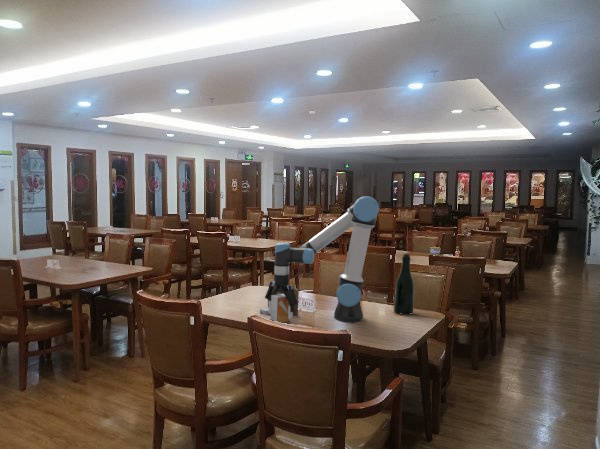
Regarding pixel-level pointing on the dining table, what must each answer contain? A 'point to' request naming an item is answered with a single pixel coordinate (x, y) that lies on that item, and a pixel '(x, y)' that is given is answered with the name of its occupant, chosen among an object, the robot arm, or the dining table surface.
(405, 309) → the beer bottle
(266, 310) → the wall board
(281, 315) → the small box
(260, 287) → the dining table surface
